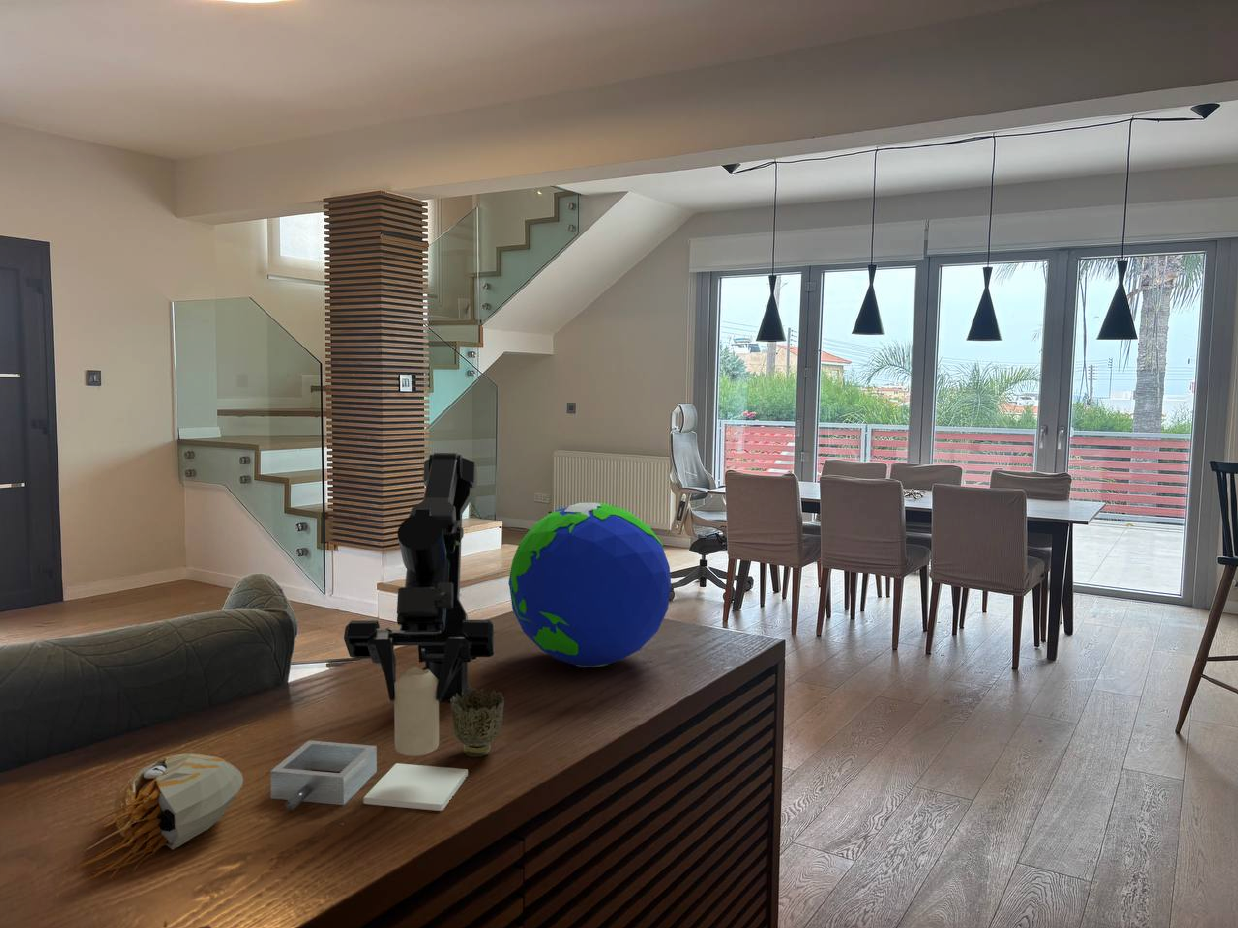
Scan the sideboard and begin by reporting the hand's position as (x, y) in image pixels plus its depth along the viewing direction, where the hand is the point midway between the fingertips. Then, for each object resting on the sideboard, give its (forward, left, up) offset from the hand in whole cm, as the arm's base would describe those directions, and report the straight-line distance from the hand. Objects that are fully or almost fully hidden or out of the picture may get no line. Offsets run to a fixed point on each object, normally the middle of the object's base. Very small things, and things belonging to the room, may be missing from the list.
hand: (415, 700), depth 112 cm
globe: (-12, -55, -12) cm, 58 cm away
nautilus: (+24, +16, -12) cm, 32 cm away
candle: (0, -1, -7) cm, 7 cm away
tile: (0, -1, -12) cm, 12 cm away
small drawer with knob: (+12, +2, -12) cm, 17 cm away
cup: (-4, -13, -12) cm, 18 cm away
